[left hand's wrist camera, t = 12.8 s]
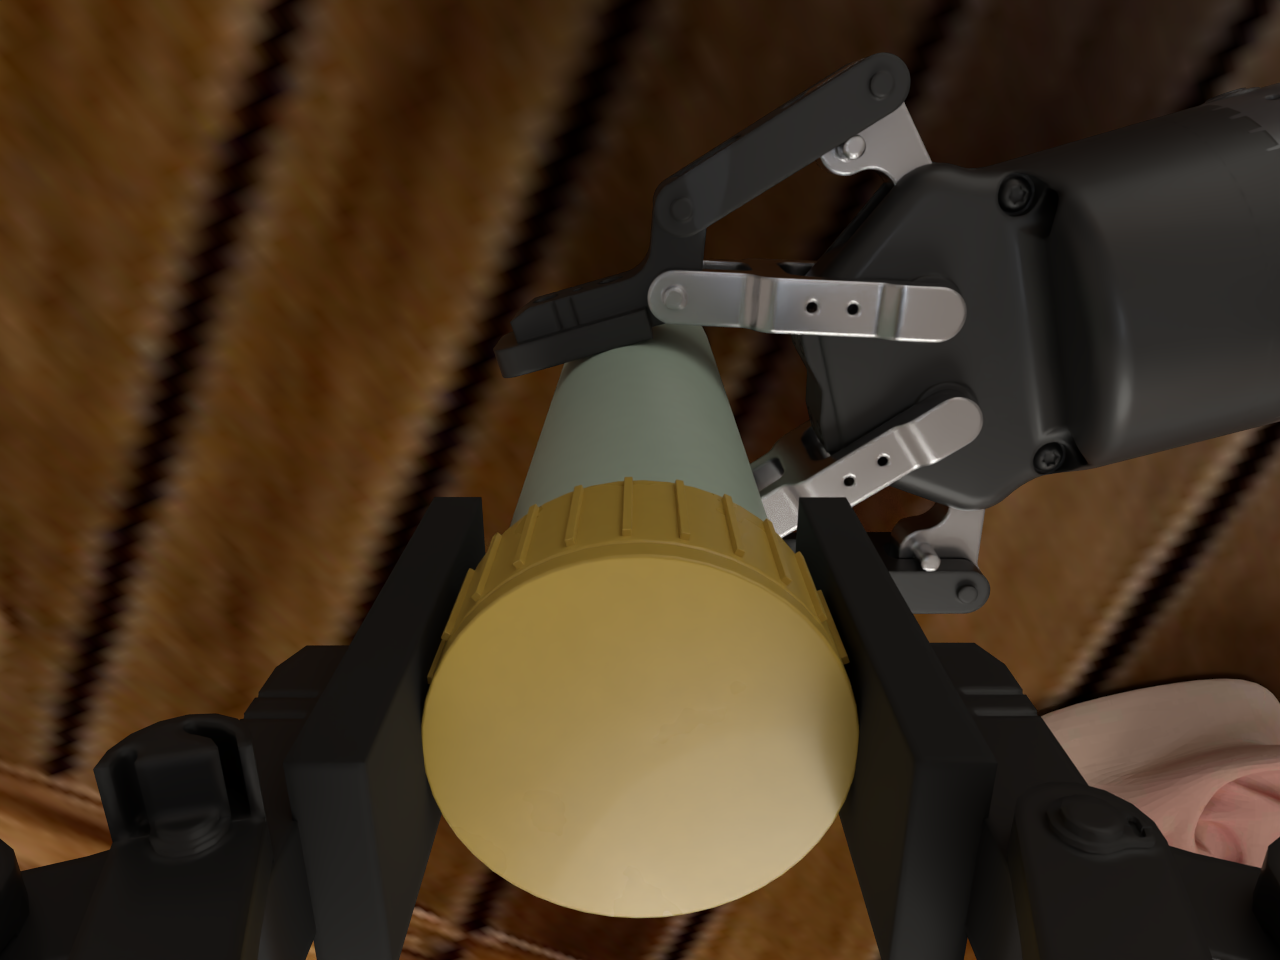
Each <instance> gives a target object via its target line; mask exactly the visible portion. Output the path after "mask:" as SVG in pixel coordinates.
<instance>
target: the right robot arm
mask: <svg viewBox="0 0 1280 960" xmlns="http://www.w3.org/2000/svg"><path fill="white" fill-rule="evenodd" d="M909 89H910V74H909V70H908V68H907V66H906V64H905V63H904V62H903V61H902V60H901V59H900V58H899V57H897V56H896V55H893V54H890V53H877V54H874V55H871V56H868V57H866V58H863V59H860V60H857V61H854V62H852V63H849V64H846V65H844V66H843V67H841V68H840V69H838V70H836V71H835V72H833V73H832V74H830V75H829V76H827V77H825V78H824V79H822V80H821V81H819V82H818V83H816V84H814V85H813V86H811V87H810V88H808V89H807V90H805V91H803V92H802V93H800V94H799V95H797V96H796V97H794V98H792V99H791V100H789V101H788V102H786V103H785V104H783V105H781V106H780V107H778V108H777V109H775V110H774V111H772V112H770V113H769V114H767V115H766V116H764V117H763V118H761V119H759V120H758V121H756V122H755V123H753V124H752V125H750V126H748V127H747V128H745V129H744V130H742V131H741V132H739V133H737V134H736V135H734V136H733V137H731V138H730V139H728V140H726V141H725V142H723V143H722V144H720V145H719V146H717V147H715V148H714V149H712V150H711V151H709V152H708V153H706V154H704V155H703V156H701V157H700V158H698V159H697V160H695V161H693V162H692V163H690V164H689V165H687V166H686V167H684V168H682V169H681V170H679V171H678V172H676V173H675V174H673V175H671V176H670V177H668V178H667V179H665V180H664V181H662V182H661V183H660V184H659V185H658V187H657V189H656V190H655V193H654V196H653V211H652V224H651V237H650V246H649V250H648V252H647V254H646V256H645V258H644V259H643V261H642V262H641V263H640V264H639V265H638V266H636V267H635V268H633V269H632V270H629V271H627V272H623V273H620V274H616V275H613V276H609V277H606V278H602V279H599V280H595V281H592V282H588V283H585V284H581V285H578V286H575V287H571V288H567V289H564V290H560V291H558V292H553V293H550V294H546V295H543V296H539V297H536V298H534V299H533V300H532V301H530V302H529V303H528V304H527V305H525V306H524V307H523V308H522V309H520V310H519V311H518V312H517V314H516V315H515V316H514V318H513V319H512V321H511V325H512V328H513V332H511V333H509V334H506V335H504V336H503V337H501V339H500V340H499V342H498V343H497V344H496V346H495V347H494V349H493V350H494V353H495V356H496V359H497V361H498V364H499V367H500V370H501V373H502V376H503V377H504V378H511V377H516V376H520V375H524V374H528V373H531V372H535V371H538V370H542V369H546V368H549V367H553V366H556V365H560V364H564V363H567V362H571V361H574V360H578V359H581V358H585V357H589V356H592V355H596V354H599V353H603V352H606V351H609V350H612V349H616V348H621V347H625V346H628V345H632V344H635V343H639V342H643V341H646V340H650V339H653V327H655V326H658V325H662V324H665V323H667V324H673V325H696V326H718V327H740V328H748V329H752V330H755V331H759V332H765V333H778V334H791V337H792V342H793V344H794V346H795V348H796V350H797V351H798V353H799V355H800V357H801V359H802V361H803V363H804V364H805V366H806V368H807V387H806V404H807V409H808V413H809V418H810V420H808V421H807V422H805V423H803V424H802V425H800V426H798V427H797V428H795V429H794V430H792V431H790V432H789V433H787V434H786V435H784V436H783V437H781V438H780V439H779V440H778V441H777V442H776V443H775V444H774V446H773V448H772V449H771V450H770V451H769V452H768V453H767V454H765V455H764V456H762V457H761V458H759V459H757V460H756V461H754V462H752V463H751V464H750V467H751V470H752V473H753V476H754V479H755V482H756V485H757V488H758V491H759V494H760V497H761V500H762V503H763V506H764V509H765V512H766V515H767V518H768V520H770V521H771V522H772V524H773V526H774V529H775V532H776V533H777V534H778V535H779V536H780V537H781V538H782V539H783V540H784V541H785V543H786V544H787V545H788V546H789V547H790V548H791V550H792V551H793V552H794V553H795V550H796V535H797V533H791V532H793V531H794V530H796V529H797V521H798V506H799V497H846V498H847V500H848V502H849V503H850V505H851V507H853V506H854V505H856V504H858V503H860V502H861V501H863V500H865V499H866V498H868V497H870V496H871V495H873V494H875V493H876V492H878V491H880V490H882V489H883V488H885V487H887V486H888V485H889V486H892V487H895V488H897V489H900V490H903V491H906V492H909V493H912V494H914V495H917V496H920V497H923V498H926V499H929V500H931V501H934V502H936V503H935V504H934V506H933V507H932V508H931V509H930V510H929V511H927V512H926V513H924V514H921V515H918V516H912V517H907V518H903V519H901V520H899V521H898V523H897V524H896V525H895V527H894V528H893V530H892V532H866V533H867V535H868V536H869V538H870V540H871V542H872V543H873V545H874V547H875V549H876V550H877V552H878V554H879V556H880V557H881V559H882V561H883V563H884V564H885V566H886V568H887V570H888V571H889V573H890V575H891V577H892V578H893V580H894V582H895V584H896V585H897V587H898V589H899V591H900V592H901V594H902V596H903V598H904V599H905V601H906V603H907V605H908V606H909V608H910V610H911V612H912V613H913V614H947V613H970V612H973V611H976V610H977V609H979V608H980V607H982V606H983V605H984V604H985V602H986V601H987V599H988V597H989V594H990V585H989V583H988V581H987V579H986V578H985V577H984V575H983V574H982V573H981V571H980V570H979V567H978V565H977V561H978V554H979V547H980V540H981V533H982V526H983V520H984V513H985V509H986V508H989V507H991V506H994V505H996V504H997V503H999V502H1001V501H1002V500H1003V499H1005V498H1006V497H1007V496H1008V495H1009V494H1011V493H1012V492H1013V491H1014V490H1016V489H1017V488H1019V487H1020V486H1021V485H1023V484H1025V483H1027V482H1028V481H1030V480H1032V479H1034V478H1037V477H1039V476H1042V475H1047V474H1053V473H1060V472H1070V471H1079V470H1086V469H1092V468H1097V467H1101V466H1105V465H1109V464H1113V463H1117V462H1120V461H1124V460H1128V459H1132V458H1136V457H1140V456H1144V455H1148V454H1152V453H1156V452H1160V451H1164V450H1168V449H1172V448H1176V447H1180V446H1184V445H1188V444H1192V443H1196V442H1200V441H1204V440H1208V439H1212V438H1216V437H1219V436H1223V435H1227V434H1231V433H1235V432H1239V431H1243V430H1247V429H1251V428H1255V427H1259V426H1263V425H1267V424H1271V423H1274V422H1278V421H1280V83H1276V84H1273V85H1269V86H1266V87H1262V88H1260V87H1254V88H1248V89H1246V88H1241V89H1237V90H1233V91H1230V92H1227V93H1224V94H1221V95H1219V96H1216V97H1214V98H1211V99H1209V100H1207V101H1206V102H1205V103H1204V104H1202V105H1200V106H1196V107H1193V108H1189V109H1186V110H1182V111H1179V112H1175V113H1172V114H1169V115H1165V116H1162V117H1158V118H1155V119H1151V120H1148V121H1144V122H1141V123H1137V124H1134V125H1130V126H1127V127H1123V128H1120V129H1116V130H1113V131H1109V132H1106V133H1102V134H1099V135H1095V136H1092V137H1088V138H1085V139H1081V140H1078V141H1075V142H1071V143H1068V144H1064V145H1061V146H1057V147H1054V148H1050V149H1047V150H1043V151H1040V152H1036V153H1033V154H1029V155H1026V156H1022V157H1019V158H1016V159H1012V160H1009V161H1005V162H1002V163H998V164H995V165H991V166H987V167H981V168H963V167H960V166H957V165H953V164H949V163H936V162H931V159H930V157H929V155H928V153H927V151H926V149H925V146H924V144H923V142H922V140H921V138H920V136H919V133H918V131H917V129H916V127H915V125H914V123H913V120H912V118H911V116H910V114H909V112H908V110H907V107H906V105H905V103H904V101H905V99H906V97H907V95H908V93H909ZM813 161H816V163H817V165H818V166H819V167H820V168H821V169H823V170H824V171H826V172H828V173H831V174H836V175H843V176H847V175H852V174H855V173H857V172H860V171H862V170H866V169H871V170H873V171H875V172H876V173H877V174H879V176H880V177H881V178H882V179H883V181H884V183H883V184H882V185H881V186H880V188H879V189H878V190H877V191H876V192H875V193H874V195H873V196H872V197H871V198H870V199H869V201H868V202H867V203H866V204H865V205H864V207H863V208H862V209H861V210H860V211H859V212H858V214H857V215H856V216H855V217H854V218H853V220H852V221H851V222H850V223H849V224H848V225H847V227H846V228H845V229H844V230H843V231H842V233H841V234H840V235H839V236H838V237H837V239H836V240H835V241H834V242H833V243H832V244H831V246H830V247H829V248H828V249H827V250H826V252H825V253H824V254H823V255H822V256H821V257H820V259H819V260H818V261H804V260H782V259H760V258H748V259H742V260H728V259H706V258H703V257H704V247H705V237H706V227H708V226H710V225H711V224H713V223H715V222H716V221H718V220H719V219H721V218H723V217H724V216H726V215H727V214H729V213H731V212H732V211H734V210H736V209H737V208H739V207H740V206H742V205H744V204H745V203H747V202H748V201H750V200H752V199H753V198H755V197H757V196H758V195H760V194H761V193H763V192H765V191H766V190H768V189H770V188H771V187H773V186H774V185H776V184H778V183H779V182H781V181H782V180H784V179H786V178H787V177H789V176H791V175H792V174H794V173H795V172H797V171H799V170H800V169H802V168H803V167H805V166H807V165H808V164H810V163H812V162H813ZM847 477H848V478H847ZM845 478H847V479H845Z"/></svg>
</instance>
